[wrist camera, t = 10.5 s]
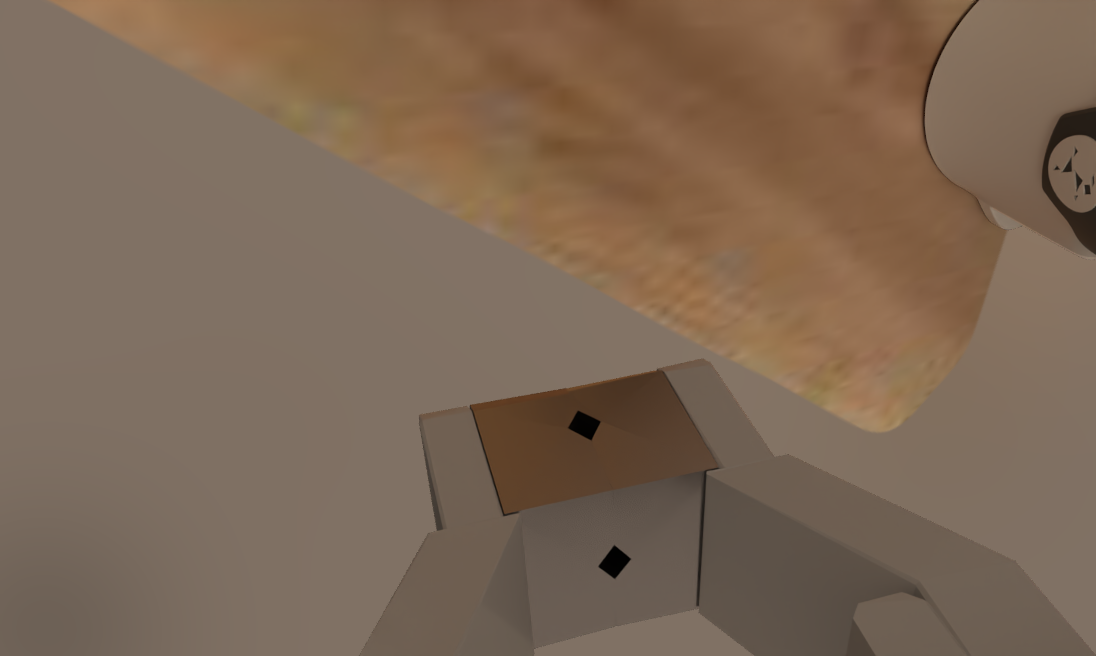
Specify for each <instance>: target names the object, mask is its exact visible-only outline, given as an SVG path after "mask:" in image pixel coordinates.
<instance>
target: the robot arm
mask: <svg viewBox="0 0 1096 656" xmlns="http://www.w3.org/2000/svg"><path fill="white" fill-rule="evenodd" d="M925 132H926V139H927V143H928V147H929V150H930V153H931V155H932V157H933V160H934V161H935V163H936V165H937V166H938V168H939V169H940V170H941V172H942V173H943V174H944V175H945V176H946V177H947V178H948V179H949V180H950V181H952V182H953V183H955V184H956V185H958V186H960V187H961V188H963V189H965V190H967V191H968V192H970V193H971V194H973V195H974V196H975V197H976V198H977V199H978V201H979V204H980V206H981V208H982V210H983V212H984V214H985V215H986V217H987V218H988V220H989V221H990V222H991V223H993V224H995V225H997V226H998V227H1000V228H1002V229H1005V230H1012V229H1016V228H1019V227H1022V226H1024V227H1026V228H1028V229H1030V230H1031V231H1033V232H1035V233H1037V234H1039V235H1040V236H1042V237H1044V238H1046V239H1048V240H1049V241H1051V242H1053V243H1055V244H1057V245H1059V246H1060V247H1062V248H1064V249H1066V250H1068V251H1070V252H1071V253H1073V254H1075V255H1077V256H1079V257H1081V258H1084V259H1088V260H1095V259H1096V0H979V1H978V2H977V3H976V4H975V5H974V7H973V8H972V9H971V10H970V11H969V12H968V14H967V15H966V16H965V17H964V19H963V20H962V21H961V23H960V24H959V25H958V27H957V28H956V30H955V31H954V33H953V34H952V36H951V38H950V39H949V41H948V43H947V44H946V46H945V48H944V50H943V52H942V54H941V56H940V58H939V60H938V63H937V65H936V68H935V70H934V73H933V76H932V79H931V82H930V86H929V90H928V95H927V100H926V107H925ZM419 426H420V431H421V438H422V444H423V450H424V457H425V463H426V469H427V475H428V481H429V488H430V494H431V500H432V506H433V512H434V517H435V523H436V529H437V531H436V532H431V533H428V534H427V536H426V538H425V540H424V542H423V543H422V545H421V547H420V549H419V550H418V552H417V554H416V556H415V558H414V559H413V561H412V563H411V564H410V566H409V568H408V570H407V572H406V574H405V575H404V577H403V579H402V580H401V583H400V584H399V586H398V588H397V590H396V591H395V593H394V595H393V596H392V598H391V600H390V602H389V604H388V605H387V607H386V609H385V611H384V612H383V615H382V616H381V618H380V620H379V621H378V623H377V625H376V627H375V629H374V630H373V632H372V634H371V636H370V637H369V639H368V641H367V643H366V644H365V646H364V648H363V650H362V651H361V653H360V655H359V656H534V649H535V648H538V647H542V646H546V645H549V644H553V643H556V642H560V641H564V640H568V639H571V638H575V637H578V636H582V635H586V634H590V633H593V632H597V631H601V630H604V629H608V628H612V627H615V626H620V625H624V624H629V623H634V622H639V621H643V620H648V619H652V618H657V617H662V616H666V615H671V614H676V613H680V612H685V611H690V610H694V609H699V613H700V614H701V615H702V616H704V617H705V618H706V619H708V620H709V621H710V622H712V623H713V624H714V625H715V626H717V627H718V628H719V629H721V630H722V631H723V632H724V633H726V634H727V635H728V636H730V637H731V638H732V639H734V640H735V641H736V642H737V643H739V644H740V645H741V646H743V647H744V648H745V649H747V650H748V651H749V652H750V653H752V654H753V655H754V656H1096V655H1095V653H1094V652H1093V651H1092V650H1091V649H1090V647H1089V646H1088V645H1087V644H1086V643H1085V642H1084V641H1083V639H1082V638H1081V637H1080V636H1079V635H1078V633H1077V632H1076V631H1075V630H1074V629H1073V628H1072V626H1071V625H1070V624H1069V623H1068V622H1067V621H1066V619H1065V618H1064V617H1063V616H1062V615H1061V614H1060V612H1059V611H1058V610H1057V609H1056V608H1055V607H1054V605H1053V604H1052V603H1051V602H1050V601H1049V600H1048V598H1047V597H1046V596H1045V595H1044V594H1043V593H1042V591H1041V590H1040V589H1039V588H1038V587H1037V586H1036V585H1035V583H1034V582H1033V581H1032V580H1031V579H1030V577H1029V576H1028V575H1027V574H1026V573H1025V572H1024V570H1023V569H1022V568H1021V567H1020V566H1019V565H1018V563H1017V562H1016V561H1014V560H1012V559H1010V558H1008V557H1006V556H1004V555H1002V554H999V553H997V552H995V551H993V550H991V549H989V548H987V547H985V546H982V545H980V544H978V543H976V542H974V541H972V540H970V539H968V538H965V537H963V536H961V535H959V534H957V533H955V532H953V531H950V530H948V529H946V528H944V527H942V526H940V525H938V524H935V523H933V522H931V521H929V520H927V519H925V518H923V517H921V516H919V515H917V514H914V513H912V512H910V511H908V510H906V509H904V508H902V507H899V506H897V505H895V504H893V503H891V502H889V501H887V500H885V499H882V498H880V497H878V496H876V495H874V494H872V493H870V492H867V491H865V490H863V489H861V488H859V487H857V486H855V485H852V484H850V483H848V482H846V481H844V480H842V479H840V478H838V477H836V476H834V475H831V474H829V473H827V472H825V471H823V470H821V469H819V468H817V467H814V466H812V465H810V464H808V463H806V462H804V461H802V460H799V459H797V458H795V457H793V456H791V455H789V454H787V455H783V456H778V457H774V455H773V454H772V452H771V451H770V450H769V448H768V447H767V445H766V444H765V442H764V441H763V439H762V438H761V436H760V435H759V433H758V432H757V431H756V429H755V427H754V426H753V425H752V423H751V421H750V420H749V418H748V417H747V415H746V414H745V413H744V411H743V410H742V408H741V407H740V405H739V404H738V402H737V401H736V399H735V398H734V396H733V395H732V393H731V392H730V390H729V389H728V387H727V386H726V385H725V383H724V382H723V380H722V379H721V377H720V376H719V374H718V373H717V371H716V370H715V369H714V367H713V365H712V364H711V363H710V362H708V361H706V360H704V359H698V360H694V361H689V362H685V363H680V364H676V365H671V366H667V367H663V368H658V369H657V370H656V371H650V372H645V373H641V374H636V375H630V376H626V377H621V378H616V379H611V380H606V381H601V382H596V383H591V384H587V385H581V386H576V387H572V388H564V389H558V390H553V391H547V392H542V393H536V394H530V395H524V396H518V397H513V398H507V399H501V400H495V401H490V402H484V403H478V404H473V405H470V409H469V408H468V407H467V406H464V407H459V408H454V409H448V410H443V411H437V412H432V413H426V414H421V415H419Z"/></svg>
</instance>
